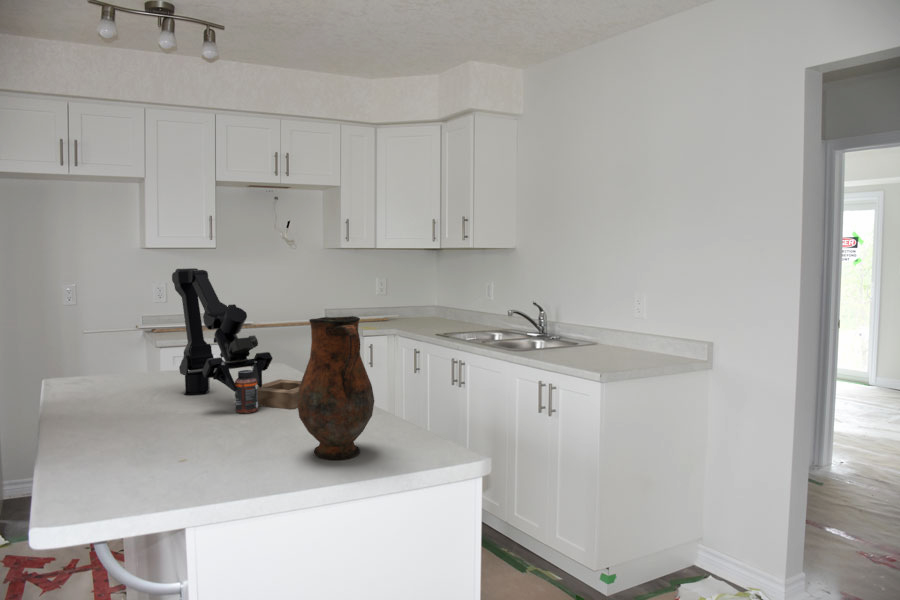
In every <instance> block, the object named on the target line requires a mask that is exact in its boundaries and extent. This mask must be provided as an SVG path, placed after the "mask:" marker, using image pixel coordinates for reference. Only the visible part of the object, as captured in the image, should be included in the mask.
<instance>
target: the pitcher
mask: <svg viewBox="0 0 900 600" xmlns="http://www.w3.org/2000/svg"><path fill="white" fill-rule="evenodd" d="M360 320H361V319H360V317H358V316H353V315H352V316H331V317H329V316H325V317H319V318H318V317H317V318H310V319H309V320H308V321H309V323H310V331H311V345H310V346H311V347H310V352H309V353H310V354H309V355H310V356H309V359H308V362H307V365H306V367H305V370H304V373H303V376H302V378H301V380H300V381H301V384H300V386H299V393H298V400H297V404H298V407H297V409H298V410H297V411H298V416H299V417H298V418H299V420H300V421H301V422H302V424H303V426H304V427H305V429H306V430H307V432H308V433H309V434H310V435H311V436H312V437H313V438H314V439H315V440H317V441H318V442H319V444H318V446H316V447H315V448H314V450H313V455H314V454H315V455H316V456H317V457H316V456H315V455H314V456H315V457H316V458H318V457H319V459H321V458H322V460H326V459H328V460H327V461H343V460H347V459H348V460H349V459H352V458H355V457H357V456H358V455H359V454H360V452H361V449H360V448H359V446H358V445H356V444H355V441H356V440H357V439H358V438H359V437H360V436H361V435H362V433H363V432H364V430H365V429H366V427H367V425H368V424H369V421H370V420H371V418H372V417H373V413H374V406H375V395H374V390H373V386H372V382H371V379H370V378H369V375H368V373H367V370H366V367H365V364H364V361H363V360H362V357H361V338H360V334H359V322H360Z"/></svg>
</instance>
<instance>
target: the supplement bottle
mask: <svg viewBox="0 0 900 600" xmlns="http://www.w3.org/2000/svg"><path fill="white" fill-rule="evenodd" d="M234 383H235V385H236V388H237V390H236V392H234V400H235V412H236V413H238V414H250V413H251V414H253V413H255V412H257V411H258V409H259V406H258V397H257V386H258V385H257V380H256V379H255V378H254V377H253V371H252V370H251V369H245V370H243V369H242V370H238V372H237V378H236V379H235V380H234Z"/></svg>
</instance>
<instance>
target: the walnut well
mask: <svg viewBox="0 0 900 600" xmlns="http://www.w3.org/2000/svg"><path fill="white" fill-rule="evenodd" d="M301 381H302V380H293V379H292V380H291V379H290V380H289V379H282V378H281V379H276V380H273V381H269V382H266V383H262V387H261V388H259V386H258V385H257V397H258V407H265V408H276V409H285V410H287V409H288V410H294V409H298V404H297V400H298V393H299V386H300V384H301Z"/></svg>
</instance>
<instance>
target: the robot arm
mask: <svg viewBox="0 0 900 600" xmlns="http://www.w3.org/2000/svg"><path fill="white" fill-rule="evenodd" d="M208 273H209V272H208V271H207V270H206V269H205V270H204V269H198V268H191V267H190V268H176V269H175V272H172V274H171V281H172V283H173V286H174V290H175V291H176V292H177V294H178V295H179V296H180V297H181V301H182V303H181V304H182V310H183V315H184V324H185V332H186V338H187V343H186V346H185V348H184V349H183V357H182V360H181V362H180V365H179V367H178V369H179V373H180V375H182V376H184V383H185V384H184V385H185V386H184V387H185V388H184V389H185V391H184V393H183V395H185V396H187V395H206V394H208V392H209V391H210V389H211V380H210V379H211V378H212V379H213V380H217V381H218V382H220V383H222V384H223V385H224V386H226V387H227V388H229V389H230V390H231V391H233V392H234V393H235V392H236V390H237V388H236V385H235V380H234V378H233V376H232V374H231V372H230V370H232V369H241V368H249V367H250V368H251V369H252V371H253V377H254V378H255V379H256V380H257V386H259V388H261V387H262V384H263V371H266V370H268V368H269V367H270V365H271V362H272V360H273V356H272V353H271V352H270V351H265V352H256V353H255V356H254V357H253V358H248V357H249V356H250V351H251V350H253V349H255V348H257V346H258V345H259V340H258V338H257V337H256V335H255V334H254V335H249V336H248V337H238V334H240V332H241V330H242V329H243V327H244V324H245V322H246V320H247V318H248V314H247V312H246V311H245V310H244V309H243V308H241V307H238V306H237V305H236V304H228V305H227V304H225V303H224V302H221V301H220V299H219V297H218V295H217V292H216V291H215V289H214V287H213V285H212V283H211V281H210V279H209V274H208ZM199 301H200V302H199ZM200 303H201V306H202V307H203V311H204V313H203V316H201V309H200ZM201 317H202V318H203V319H202V318H201ZM202 320H203V324H204V326H205V327H206V328H207V329H208V331H209V330H211V331H212V330H213V331H214V330H215V332H214V337H213V343H215V344H217V345H218V347H219V350H220V354H219V357H214V355H213V351H212V345H211V343H208V342H206V340H205V338H204V337H205V336H204V331H203V324H202Z"/></svg>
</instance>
